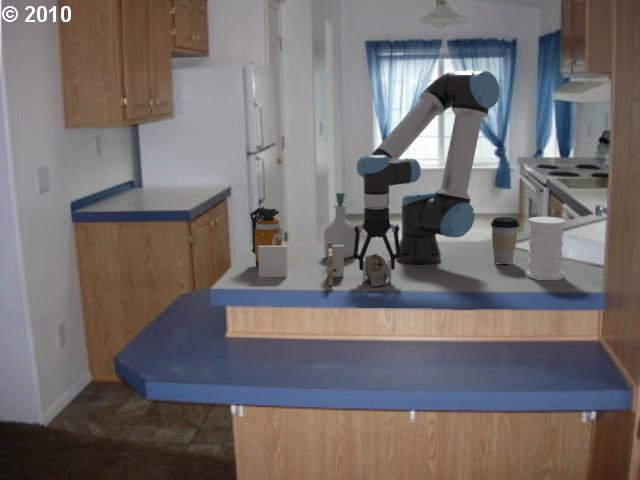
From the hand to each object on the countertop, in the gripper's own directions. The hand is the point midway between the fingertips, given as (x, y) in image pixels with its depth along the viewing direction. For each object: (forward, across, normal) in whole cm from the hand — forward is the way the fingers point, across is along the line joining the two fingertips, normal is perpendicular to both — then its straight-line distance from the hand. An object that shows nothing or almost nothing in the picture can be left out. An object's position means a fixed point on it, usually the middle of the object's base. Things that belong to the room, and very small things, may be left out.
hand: (377, 279), depth 227 cm
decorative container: (+1, -53, -6) cm, 53 cm away
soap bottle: (+1, +11, -34) cm, 36 cm away
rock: (0, 0, 0) cm, 1 cm away
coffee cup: (+1, -44, -23) cm, 49 cm away
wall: (0, +24, -7) cm, 25 cm away
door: (0, +14, 0) cm, 14 cm away
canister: (+1, +36, -21) cm, 42 cm away
